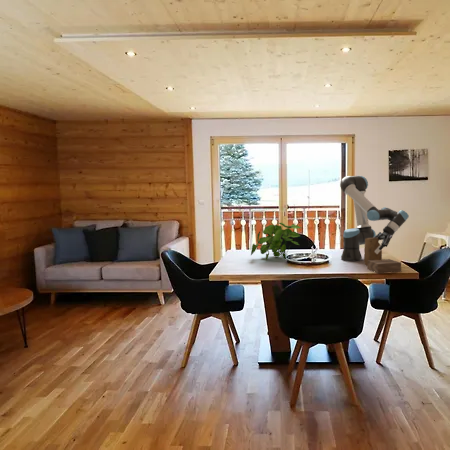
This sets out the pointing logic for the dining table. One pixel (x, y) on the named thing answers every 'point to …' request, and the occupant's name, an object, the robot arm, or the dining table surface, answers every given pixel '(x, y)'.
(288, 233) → the indoor plant
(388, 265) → the block
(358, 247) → the robot arm
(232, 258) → the dining table surface
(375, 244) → the block
